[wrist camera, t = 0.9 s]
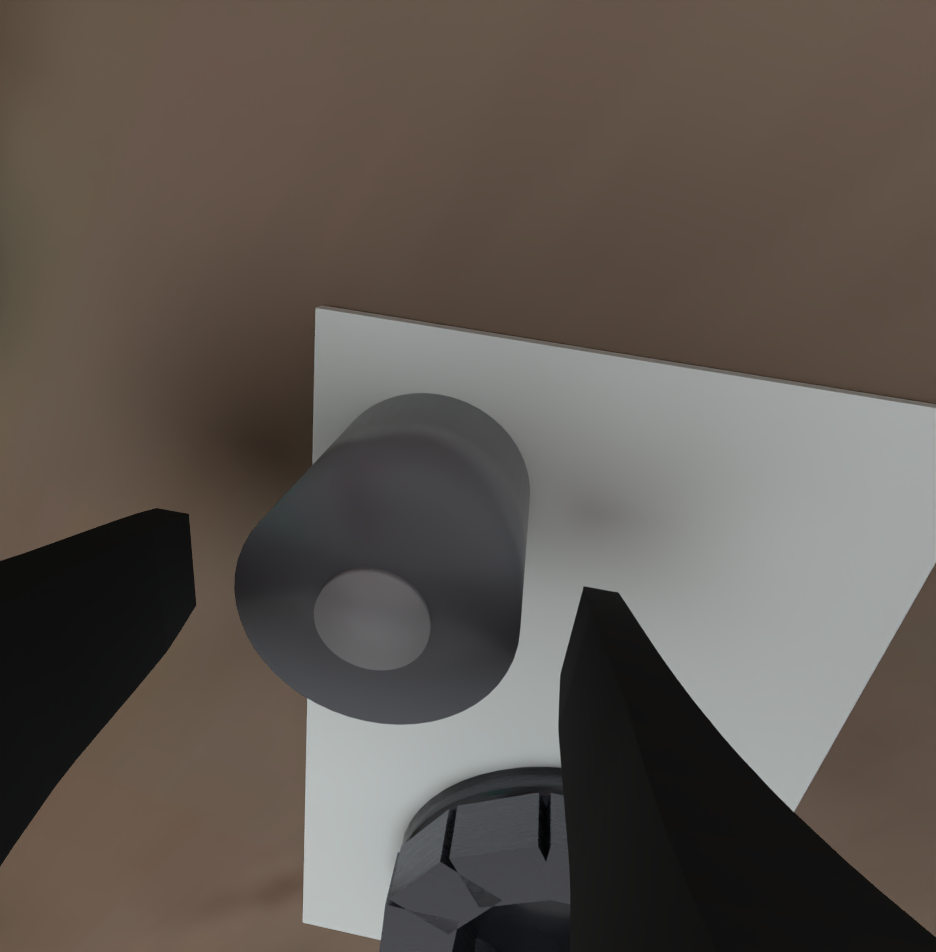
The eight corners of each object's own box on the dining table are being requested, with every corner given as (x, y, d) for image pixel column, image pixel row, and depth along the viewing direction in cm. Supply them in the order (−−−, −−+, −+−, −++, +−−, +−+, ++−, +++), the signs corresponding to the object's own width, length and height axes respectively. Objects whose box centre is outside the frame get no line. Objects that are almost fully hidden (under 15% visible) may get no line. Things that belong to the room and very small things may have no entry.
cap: (547, 412, 13) (546, 523, 9) (511, 590, 15) (495, 756, 11) (335, 376, 14) (222, 464, 9) (328, 556, 16) (234, 703, 11)
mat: (1002, 415, 12) (1015, 421, 12) (680, 995, 23) (682, 1008, 22) (321, 305, 13) (315, 308, 13) (306, 911, 24) (302, 922, 23)
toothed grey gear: (776, 809, 18) (811, 902, 15) (672, 998, 22) (687, 1091, 20) (416, 736, 18) (396, 813, 16) (389, 934, 23) (371, 1017, 21)
